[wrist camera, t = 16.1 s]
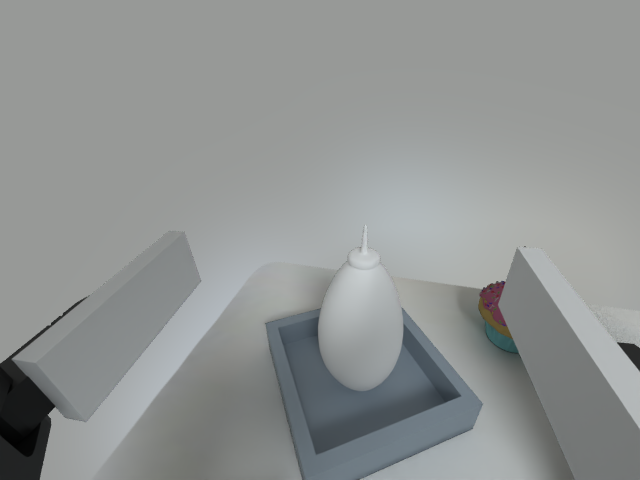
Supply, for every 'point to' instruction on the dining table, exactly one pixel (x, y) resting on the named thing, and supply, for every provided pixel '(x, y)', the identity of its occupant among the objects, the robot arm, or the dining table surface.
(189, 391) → the dining table surface
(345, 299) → the sauce bottle
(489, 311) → the cupcake
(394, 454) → the tray
